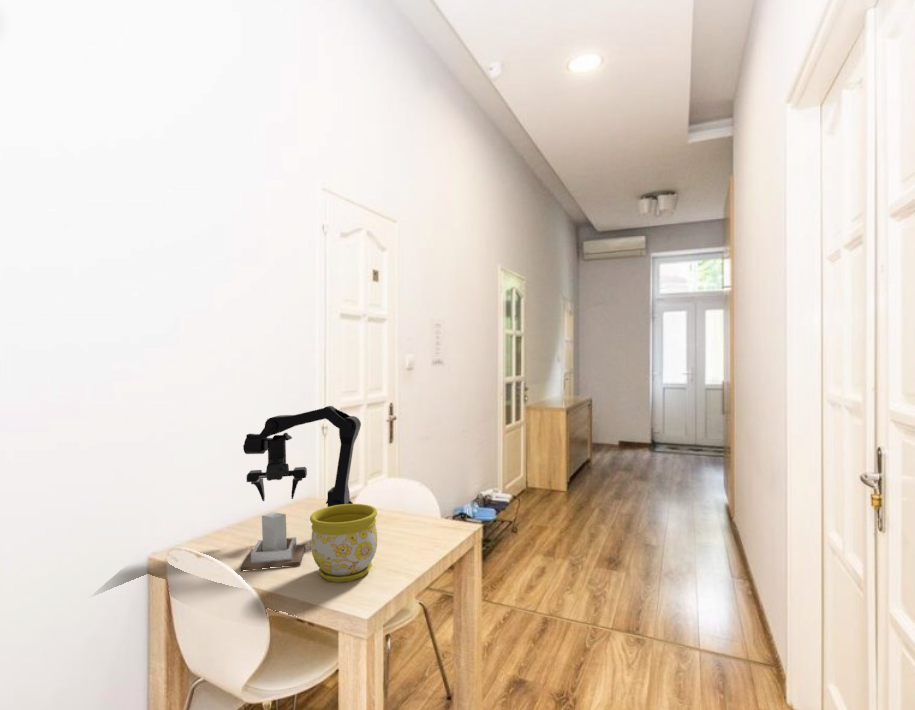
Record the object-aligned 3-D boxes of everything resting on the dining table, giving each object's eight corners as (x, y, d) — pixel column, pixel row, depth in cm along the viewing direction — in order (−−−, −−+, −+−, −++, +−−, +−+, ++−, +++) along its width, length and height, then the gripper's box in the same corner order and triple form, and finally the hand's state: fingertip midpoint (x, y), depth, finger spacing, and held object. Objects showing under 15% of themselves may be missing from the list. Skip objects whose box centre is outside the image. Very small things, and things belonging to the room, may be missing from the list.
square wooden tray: (305, 548, 159) (305, 544, 159) (300, 565, 145) (299, 561, 145) (251, 553, 156) (251, 549, 156) (240, 571, 142) (240, 567, 142)
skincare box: (287, 554, 151) (286, 514, 151) (275, 559, 147) (274, 518, 147) (274, 550, 154) (272, 511, 154) (262, 555, 150) (261, 515, 151)
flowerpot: (348, 592, 128) (346, 527, 128) (297, 579, 136) (295, 518, 136) (391, 565, 143) (390, 507, 143) (343, 555, 152) (341, 500, 152)
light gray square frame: (296, 546, 157) (296, 537, 157) (291, 560, 146) (291, 550, 146) (258, 550, 155) (258, 540, 155) (251, 564, 144) (250, 553, 144)
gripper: (242, 459, 162) (243, 509, 161) (303, 456, 165) (304, 504, 165) (249, 453, 172) (250, 499, 172) (306, 450, 176) (307, 495, 176)
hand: (278, 499), depth 171 cm, fingers open, 9 cm apart
